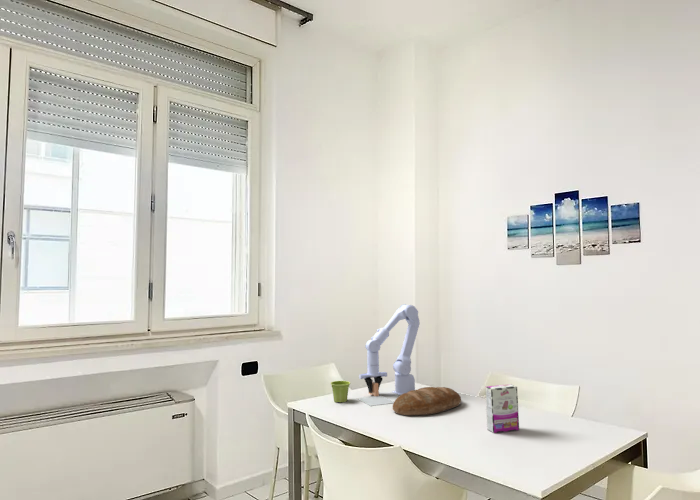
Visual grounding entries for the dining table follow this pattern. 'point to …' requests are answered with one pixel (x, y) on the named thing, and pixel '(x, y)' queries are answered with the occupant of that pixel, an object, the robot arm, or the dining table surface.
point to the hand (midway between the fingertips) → (373, 392)
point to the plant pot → (340, 390)
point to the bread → (426, 401)
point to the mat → (375, 400)
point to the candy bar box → (502, 408)
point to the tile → (375, 389)
